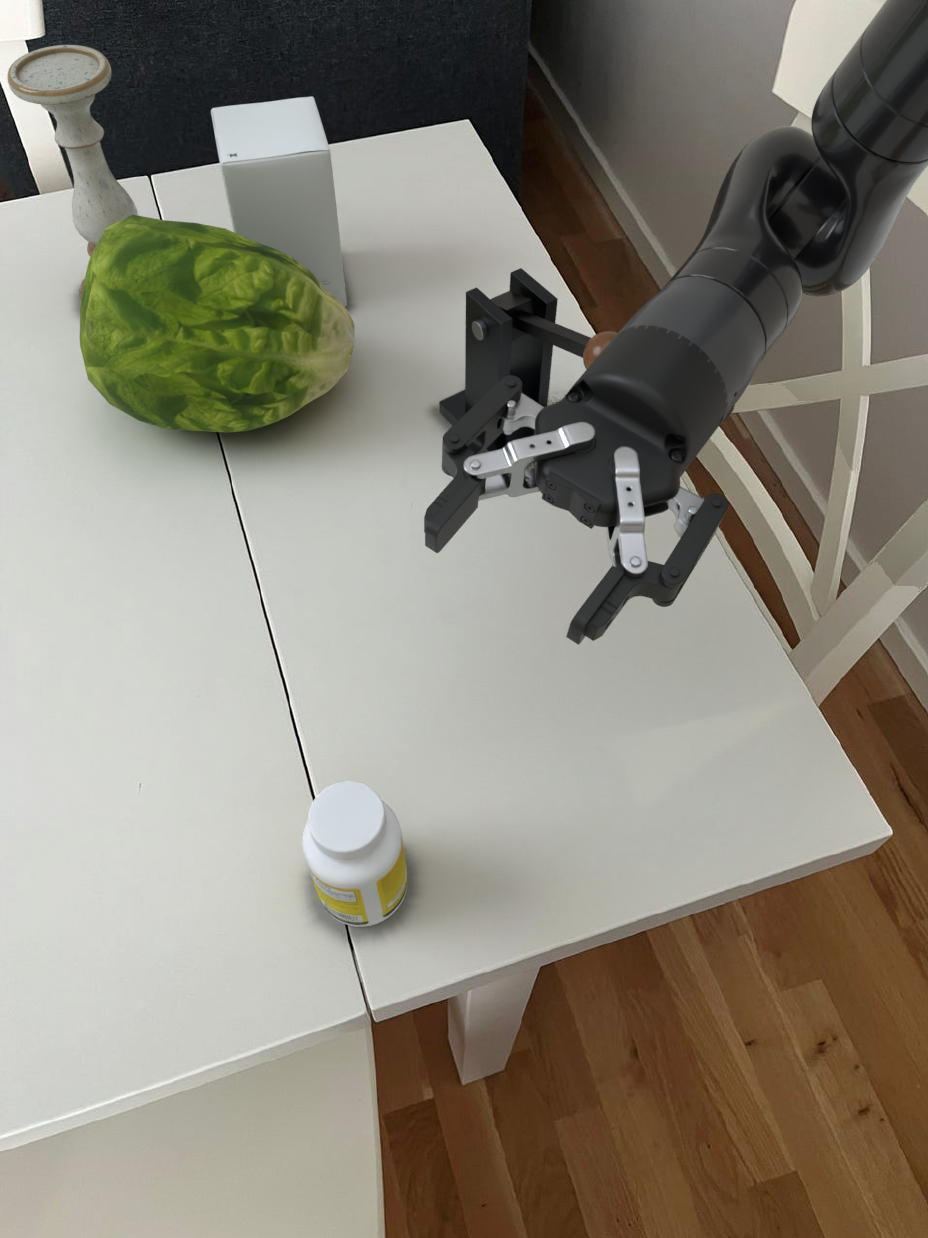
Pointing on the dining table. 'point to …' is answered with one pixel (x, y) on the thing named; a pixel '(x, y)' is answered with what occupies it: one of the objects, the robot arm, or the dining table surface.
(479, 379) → the bracket
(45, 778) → the dining table surface
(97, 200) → the candle holder
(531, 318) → the lever
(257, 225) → the rectangular carton
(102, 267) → the lettuce
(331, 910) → the supplement bottle
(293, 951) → the dining table surface
